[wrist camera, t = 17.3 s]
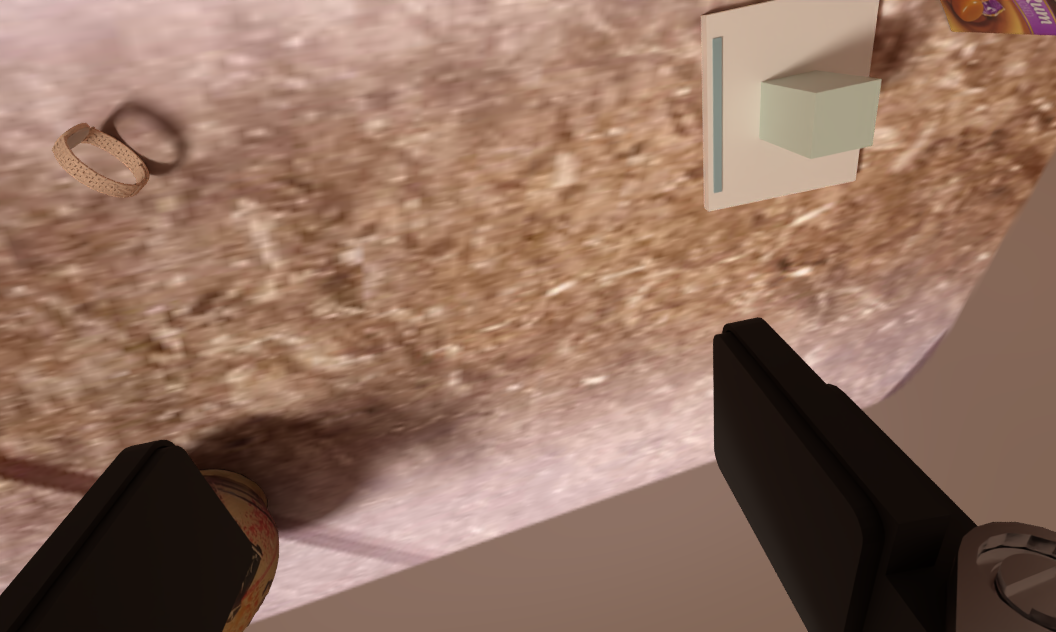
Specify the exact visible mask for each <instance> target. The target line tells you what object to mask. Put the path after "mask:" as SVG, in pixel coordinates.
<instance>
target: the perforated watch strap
mask: <svg viewBox="0 0 1056 632" xmlns="http://www.w3.org/2000/svg"><path fill="white" fill-rule="evenodd" d="M99 139H100V140H99ZM102 142H103V143H102ZM79 143H88V144H90V143H91V144H92V145H94V146H97V147H99V146H100V147H99V148H101V149H103V150H105V151H107V152H109V153H110V154H112V155H113V156H115V157H116V158H117V159H119V160H120V161H121V162H123V161H124V162H123V164H124V165H126V166H127V167H128V168H129V170H130V171H131V172H132V173H133V175H134V176H135V178H136V181H137V183H136V184H134V185H131V184H124V183H120V182H115V181H114V180H111V179H109V178H107V179H106V177H104V176H102V175H100V174H98V173H97V172H95V171H94V170H92V169H91V168H88V166H87V165H85V164H84V163H83V162H81V161H80V160H79V159H78V158H77V157H76V156H75V155H73V154H74V153H73V152H72V151H71V149H72V148H74V147H75V146H76V145H78V144H79ZM108 143H109V144H108ZM113 144H114V145H113ZM124 146H125V144H123V143H122V142H121V141H119V140H118V141H117V139H116V138H114V137H112V136H110V135H109V136H108V134H106V133H104V132H101V131H99V130H97V129H95V127H91V128H90V126H89V125H88V124H87V123H81V124H78V125H76V126H74V127H72V128H70V129H69V130H68V131H66V132H65V133H64V134H63V135H61V136H60V137H59V138H58V140H57V141H56V142H55V144H54V147H53V148H52V151H53V153H54V155H55V157H56V159H57V161H58V162H59V164H60V166H63V167H62V168H63V169H64V170H65V171H66V172H67V173H69V174H70V175H71V176H72V177H74V178H75V179H76V180H77V179H78V178H79V179H78V181H79V182H81V183H82V184H84V185H86V186H87V187H89V188H91V189H93V190H96V191H98V192H100V193H103V194H107V195H109V196H114V197H122V198H126V197H129V196H130V197H132V196H134V195H136V194H137V193H138V192H139V191H140V190H141V189H142V188H143V187H144V186H145V184H146V183H147V182H148V180H149V176H150V175H149V171H148V169H147V167H146V165H145V164H144V162H143V161H142V160H141V158H140V157H139V156H138V155H137V154H136V153H135V152H133V150H131V149H130V148H129V147H128V146H125V147H124ZM108 150H109V151H108ZM119 152H120V153H119ZM116 155H117V156H116ZM87 168H88V169H87ZM90 173H91V174H90ZM81 175H82V176H81ZM87 176H88V177H87ZM93 177H94V178H93ZM84 180H85V181H84ZM90 181H91V182H90ZM93 185H94V186H93Z"/></svg>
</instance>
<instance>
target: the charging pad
mask: <svg viewBox="0 0 1056 632" xmlns="http://www.w3.org/2000/svg"><path fill="white" fill-rule="evenodd" d="M878 6H879V0H770V1H766V2H761V3H757V4H752V5H747V6H743V7H738V8H734V9H729V10H724V11H720V12H715V13H711V14H706V15H702V16H701V53H702V111H703V169H704V208H705V209H706V210H708V211H714V210H719V209H723V208H728V207H733V206H738V205H742V204H747V203H752V202H757V201H761V200H766V199H771V198H776V197H780V196H785V195H790V194H795V193H800V192H804V191H809V190H814V189H819V188H823V187H828V186H833V185H838V184H842V183H847V182H852V181H855V180H856V173H857V165H858V158H859V150H860V149H855V150H851V151H846V152H841V153H837V154H832V155H827V156H823V157H818V158H813V159H809V158H807V157H804V156H802V155H799V154H797V153H794V152H792V151H789V150H787V149H784V148H782V147H779V146H777V145H774V144H772V143H769V142H767V141H764V140H762V139H759V128H760V98H761V82H764V81H769V80H773V79H778V78H783V77H787V76H792V75H796V74H801V73H805V72H810V71H815V70H818V71H825V72H833V73H841V74H848V75H856V76H863V77H869V74H870V67H871V59H872V52H873V44H874V37H875V29H876V21H877V14H878Z"/></svg>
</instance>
